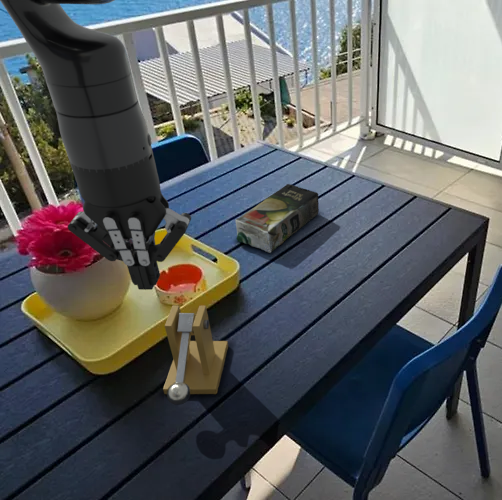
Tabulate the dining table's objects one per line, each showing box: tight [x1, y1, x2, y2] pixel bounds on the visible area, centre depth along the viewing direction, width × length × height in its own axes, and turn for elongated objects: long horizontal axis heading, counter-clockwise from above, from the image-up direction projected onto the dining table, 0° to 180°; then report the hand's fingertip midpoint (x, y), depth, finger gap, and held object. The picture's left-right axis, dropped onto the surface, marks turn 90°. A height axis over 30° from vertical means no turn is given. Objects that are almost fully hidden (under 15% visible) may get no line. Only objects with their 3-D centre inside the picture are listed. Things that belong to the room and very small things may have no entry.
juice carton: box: [235, 183, 320, 254], centre depth 112 cm, size 20×10×6 cm, turn 150°
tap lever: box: [166, 312, 196, 406], centre depth 73 cm, size 13×3×3 cm
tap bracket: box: [162, 304, 229, 395], centre depth 77 cm, size 10×8×12 cm
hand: (148, 285), depth 59 cm, fingers closed
